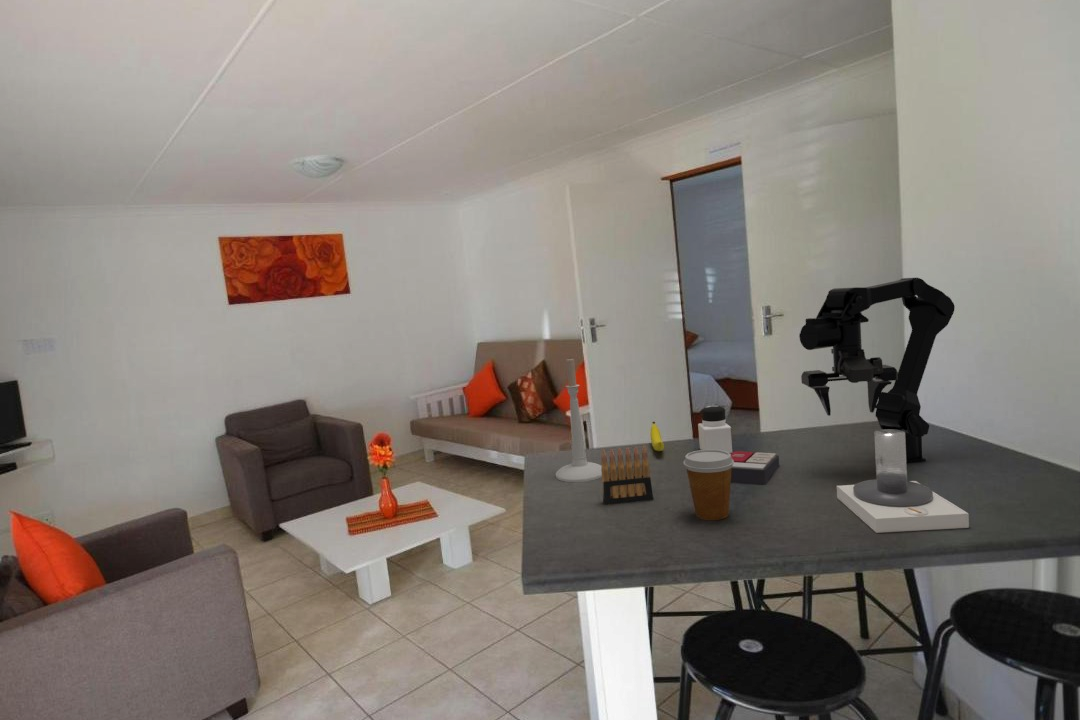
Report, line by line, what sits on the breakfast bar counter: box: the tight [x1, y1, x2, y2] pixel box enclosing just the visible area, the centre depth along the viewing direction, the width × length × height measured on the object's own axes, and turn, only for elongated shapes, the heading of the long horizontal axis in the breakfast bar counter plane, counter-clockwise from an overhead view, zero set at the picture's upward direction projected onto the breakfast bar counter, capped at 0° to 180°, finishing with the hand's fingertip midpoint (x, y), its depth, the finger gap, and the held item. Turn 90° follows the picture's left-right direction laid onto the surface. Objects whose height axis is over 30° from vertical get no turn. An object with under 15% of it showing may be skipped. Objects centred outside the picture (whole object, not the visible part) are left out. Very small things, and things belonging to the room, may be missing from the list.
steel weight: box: [873, 429, 908, 494], centre depth 117 cm, size 5×5×11 cm
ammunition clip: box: [600, 444, 654, 506], centre depth 135 cm, size 11×2×12 cm, turn 91°
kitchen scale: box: [836, 478, 970, 534], centre depth 115 cm, size 15×18×4 cm
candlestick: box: [555, 358, 602, 483], centre depth 157 cm, size 13×13×30 cm
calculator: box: [730, 450, 780, 486], centre depth 146 cm, size 11×4×15 cm
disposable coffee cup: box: [683, 449, 734, 521], centre depth 122 cm, size 10×10×12 cm
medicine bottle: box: [697, 405, 734, 454], centre depth 167 cm, size 7×7×12 cm
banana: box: [650, 421, 665, 452], centre depth 173 cm, size 3×19×6 cm, turn 175°
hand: (850, 413), depth 140 cm, fingers open, 9 cm apart
